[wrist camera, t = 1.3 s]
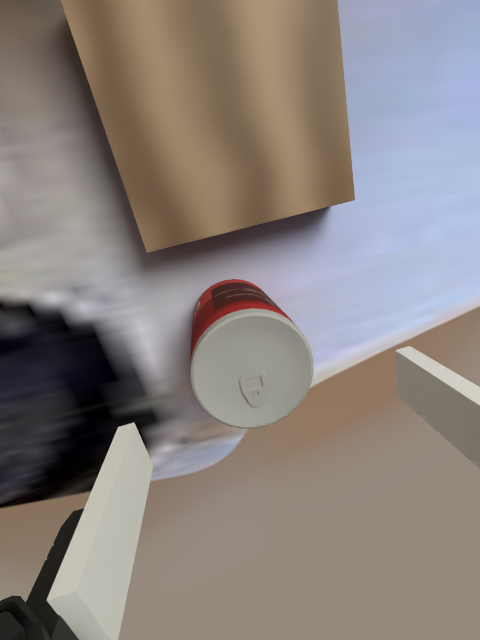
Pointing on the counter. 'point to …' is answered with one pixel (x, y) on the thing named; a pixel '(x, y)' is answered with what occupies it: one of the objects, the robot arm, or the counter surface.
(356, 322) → the counter surface
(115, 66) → the walnut base
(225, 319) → the canned food
